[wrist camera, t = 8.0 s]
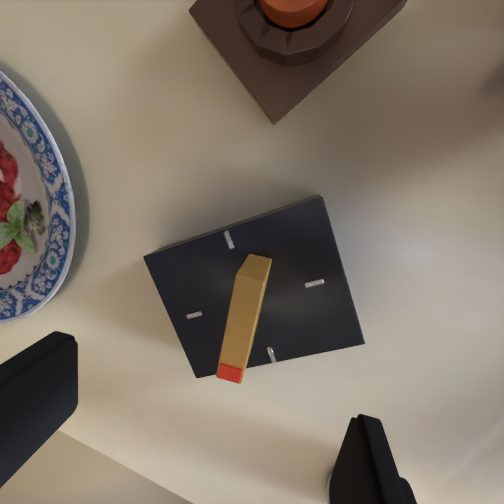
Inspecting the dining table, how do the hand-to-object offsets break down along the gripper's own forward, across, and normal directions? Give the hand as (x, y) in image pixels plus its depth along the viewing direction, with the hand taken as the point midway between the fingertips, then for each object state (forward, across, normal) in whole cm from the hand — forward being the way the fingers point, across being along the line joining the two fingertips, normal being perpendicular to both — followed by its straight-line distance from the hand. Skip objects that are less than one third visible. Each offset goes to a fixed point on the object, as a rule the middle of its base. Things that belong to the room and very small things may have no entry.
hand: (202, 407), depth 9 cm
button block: (+16, +1, -18) cm, 24 cm away
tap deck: (+16, 0, +2) cm, 16 cm away
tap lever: (+13, 0, +2) cm, 13 cm away
